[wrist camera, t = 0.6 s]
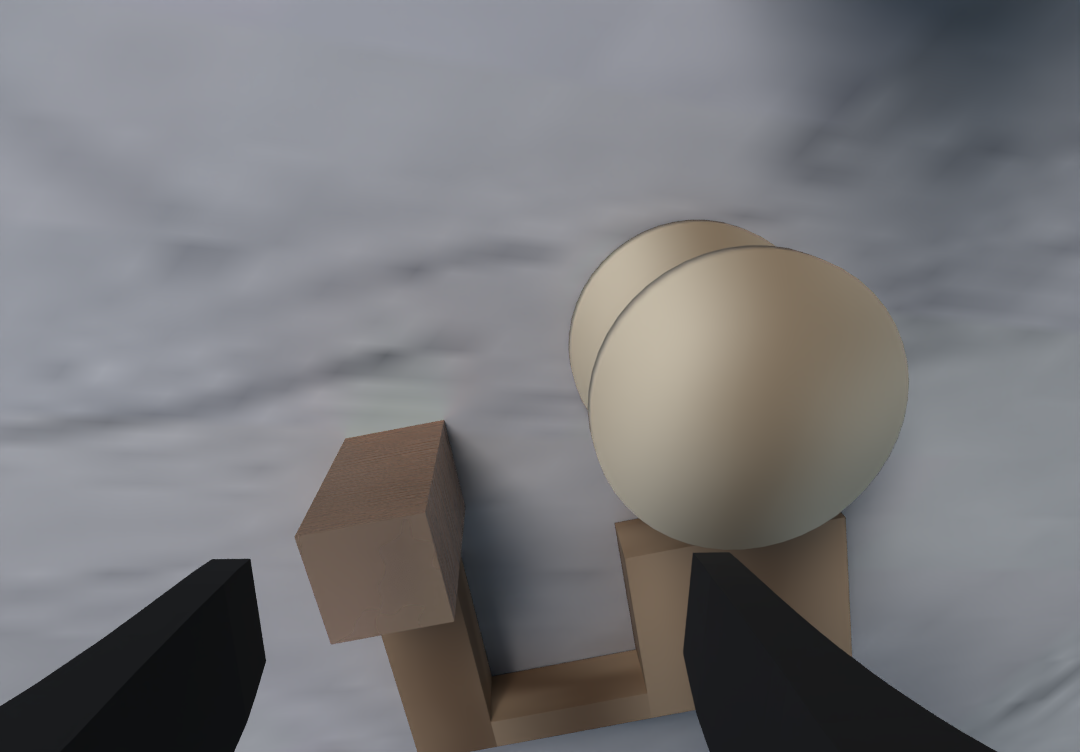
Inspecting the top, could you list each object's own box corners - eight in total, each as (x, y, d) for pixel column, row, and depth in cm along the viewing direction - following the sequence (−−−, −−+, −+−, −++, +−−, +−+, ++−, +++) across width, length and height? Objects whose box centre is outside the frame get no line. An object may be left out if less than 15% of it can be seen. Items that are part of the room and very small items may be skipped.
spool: (588, 470, 22) (616, 574, 17) (549, 246, 20) (567, 285, 14) (812, 428, 22) (910, 519, 17) (798, 198, 20) (906, 220, 14)
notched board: (426, 712, 25) (420, 760, 23) (382, 566, 23) (372, 606, 21) (825, 638, 24) (852, 680, 23) (816, 485, 22) (845, 517, 21)
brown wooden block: (371, 525, 22) (331, 644, 17) (345, 438, 21) (294, 537, 16) (465, 507, 22) (454, 621, 17) (444, 419, 21) (425, 512, 16)
